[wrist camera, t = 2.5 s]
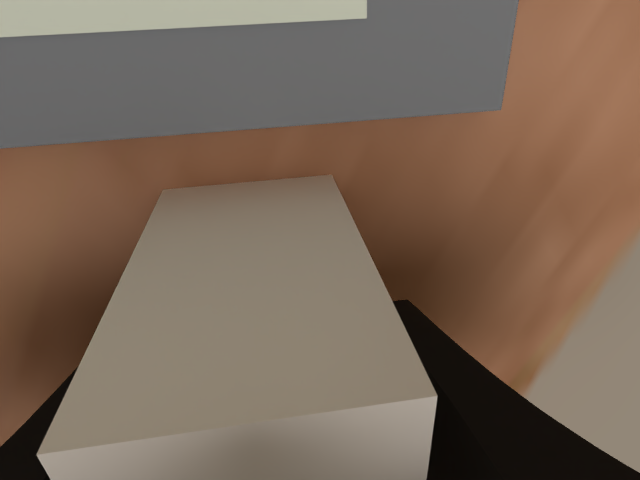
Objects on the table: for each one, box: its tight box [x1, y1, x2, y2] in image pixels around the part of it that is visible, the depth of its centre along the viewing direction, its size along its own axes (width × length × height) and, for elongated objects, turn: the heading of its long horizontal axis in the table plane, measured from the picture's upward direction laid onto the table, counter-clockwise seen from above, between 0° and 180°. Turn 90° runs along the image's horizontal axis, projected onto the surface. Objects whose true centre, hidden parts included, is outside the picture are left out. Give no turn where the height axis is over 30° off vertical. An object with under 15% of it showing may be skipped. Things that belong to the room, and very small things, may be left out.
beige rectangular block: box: [36, 175, 437, 480], centre depth 8 cm, size 4×6×6 cm, turn 2°
